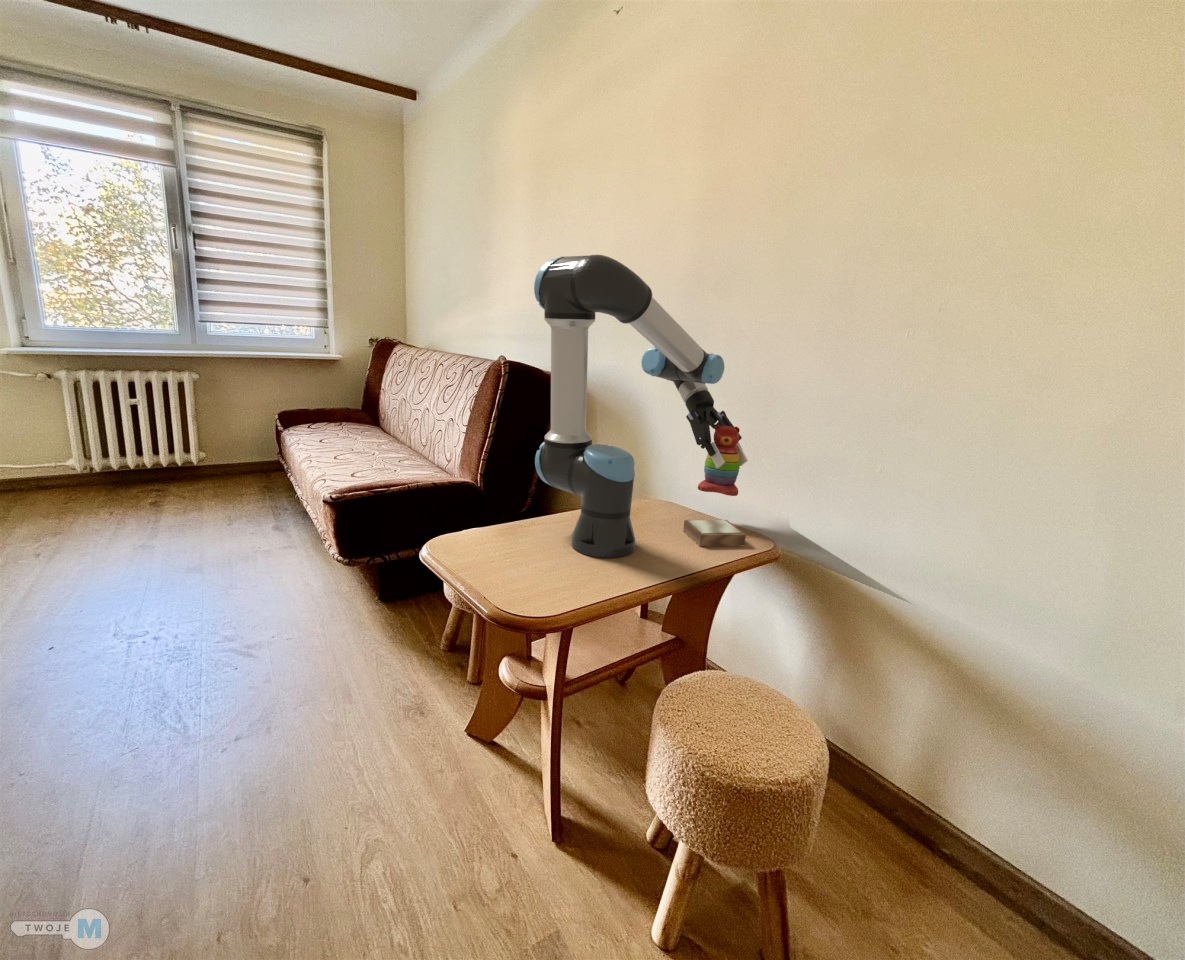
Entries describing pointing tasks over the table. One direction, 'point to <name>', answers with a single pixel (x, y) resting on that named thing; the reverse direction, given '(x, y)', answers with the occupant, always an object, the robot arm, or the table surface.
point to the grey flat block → (713, 533)
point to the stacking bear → (727, 473)
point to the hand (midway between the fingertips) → (732, 464)
